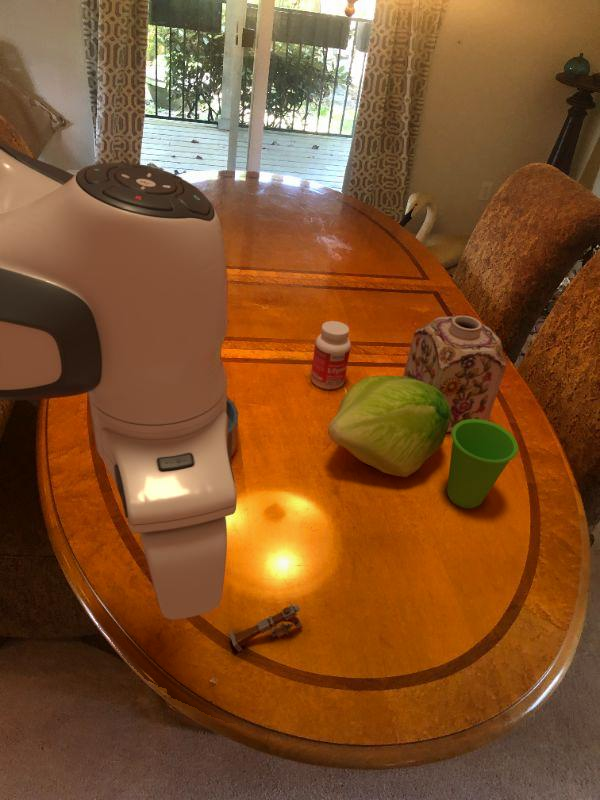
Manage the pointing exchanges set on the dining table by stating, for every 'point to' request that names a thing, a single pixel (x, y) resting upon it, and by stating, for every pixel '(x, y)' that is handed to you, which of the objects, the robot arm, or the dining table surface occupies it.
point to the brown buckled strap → (268, 626)
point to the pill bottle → (331, 355)
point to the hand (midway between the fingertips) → (169, 551)
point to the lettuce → (391, 423)
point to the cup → (477, 460)
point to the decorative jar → (459, 364)
